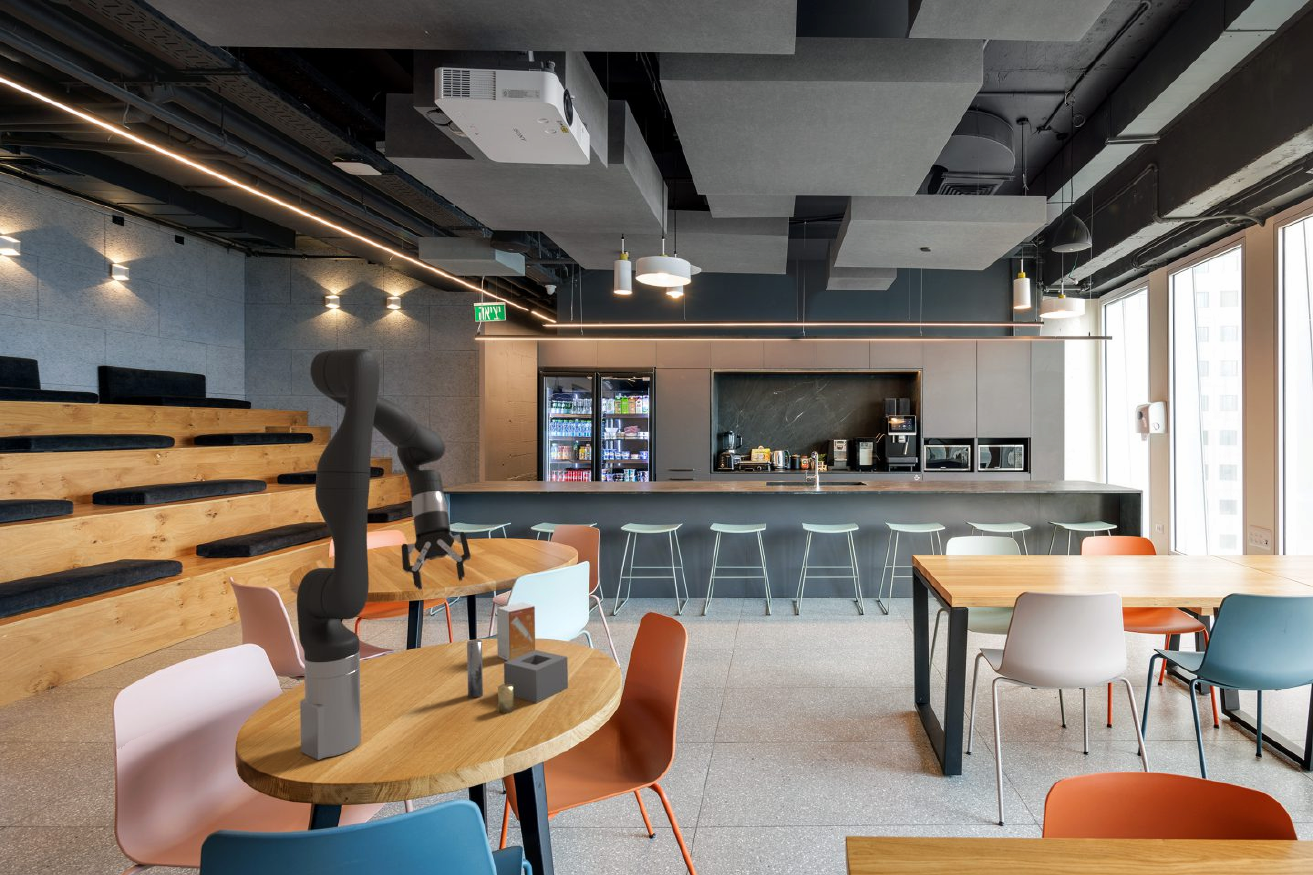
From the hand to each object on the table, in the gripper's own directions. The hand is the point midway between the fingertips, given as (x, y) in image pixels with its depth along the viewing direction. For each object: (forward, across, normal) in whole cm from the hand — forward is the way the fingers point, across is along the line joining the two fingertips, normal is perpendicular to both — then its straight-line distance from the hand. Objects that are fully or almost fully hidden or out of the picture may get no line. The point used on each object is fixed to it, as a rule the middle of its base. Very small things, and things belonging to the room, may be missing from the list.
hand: (440, 584), depth 138 cm
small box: (+16, +14, +34) cm, 40 cm away
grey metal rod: (+24, +3, +10) cm, 26 cm away
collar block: (+27, +16, +9) cm, 33 cm away
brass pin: (+29, +9, +1) cm, 30 cm away
